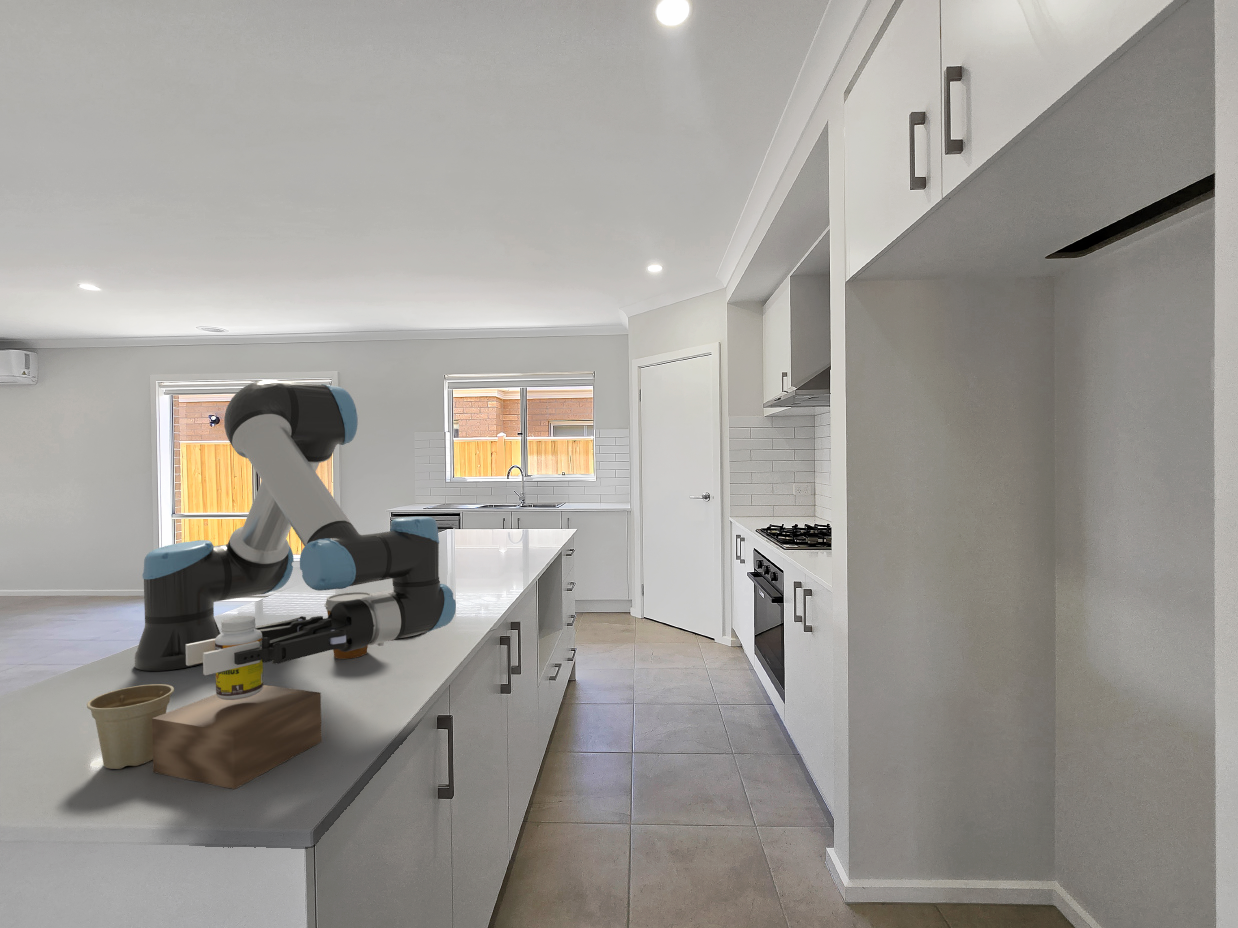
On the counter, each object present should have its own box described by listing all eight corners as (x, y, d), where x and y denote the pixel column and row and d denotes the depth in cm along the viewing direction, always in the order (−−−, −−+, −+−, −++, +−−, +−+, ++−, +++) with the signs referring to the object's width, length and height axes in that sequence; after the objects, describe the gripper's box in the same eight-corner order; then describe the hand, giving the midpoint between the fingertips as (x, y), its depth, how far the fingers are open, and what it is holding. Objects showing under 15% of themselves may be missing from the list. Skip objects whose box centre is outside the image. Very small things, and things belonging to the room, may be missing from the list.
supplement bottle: (205, 699, 87) (204, 622, 87) (241, 685, 93) (239, 612, 92) (238, 703, 86) (236, 625, 85) (273, 688, 91) (271, 615, 91)
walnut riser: (153, 772, 85) (152, 718, 85) (247, 729, 98) (246, 682, 98) (234, 788, 80) (233, 731, 80) (321, 741, 93) (320, 692, 93)
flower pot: (119, 745, 93) (118, 684, 93) (189, 742, 94) (188, 681, 94) (69, 777, 84) (68, 710, 84) (148, 773, 84) (146, 707, 84)
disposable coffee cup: (383, 647, 139) (382, 591, 139) (361, 661, 130) (360, 601, 130) (340, 647, 140) (339, 591, 140) (315, 661, 131) (314, 601, 131)
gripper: (396, 657, 97) (223, 704, 79) (334, 636, 109) (171, 673, 91) (395, 606, 97) (222, 642, 79) (333, 591, 109) (170, 619, 91)
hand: (195, 659), depth 85 cm, fingers closed on supplement bottle, 5 cm apart
